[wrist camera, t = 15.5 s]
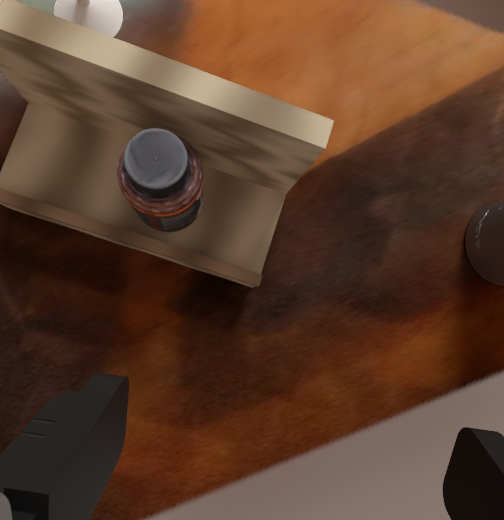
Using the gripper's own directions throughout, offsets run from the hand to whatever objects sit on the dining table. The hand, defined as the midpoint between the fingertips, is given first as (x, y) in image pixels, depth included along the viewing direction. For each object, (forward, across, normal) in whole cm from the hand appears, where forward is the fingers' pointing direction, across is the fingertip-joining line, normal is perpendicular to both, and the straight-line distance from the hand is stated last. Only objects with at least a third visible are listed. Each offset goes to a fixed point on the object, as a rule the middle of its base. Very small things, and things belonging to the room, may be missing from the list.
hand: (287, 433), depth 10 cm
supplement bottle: (+28, +10, -1) cm, 30 cm away
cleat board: (+32, +12, -1) cm, 34 cm away
